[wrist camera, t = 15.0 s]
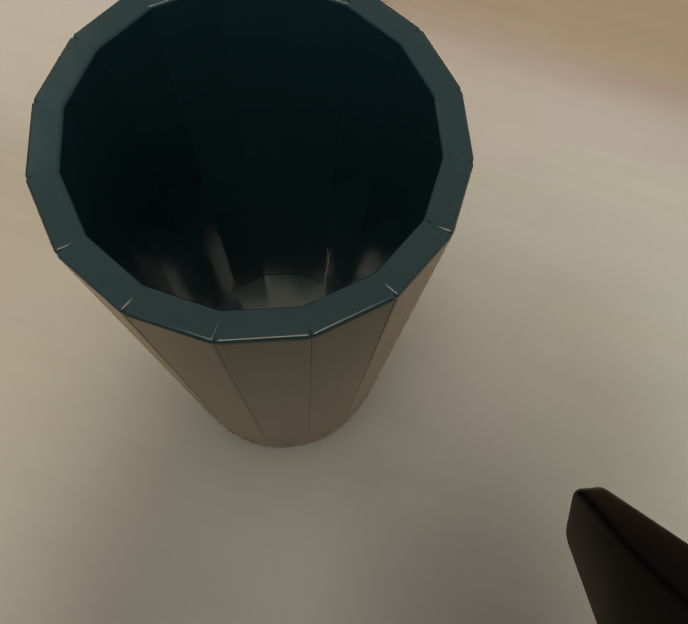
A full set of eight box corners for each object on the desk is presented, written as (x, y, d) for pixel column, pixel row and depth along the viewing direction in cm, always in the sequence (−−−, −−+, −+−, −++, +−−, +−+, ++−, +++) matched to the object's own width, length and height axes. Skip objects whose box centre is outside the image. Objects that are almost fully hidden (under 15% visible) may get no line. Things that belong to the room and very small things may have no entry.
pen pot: (410, 347, 21) (553, 121, 9) (291, 488, 19) (267, 444, 7) (278, 238, 22) (245, -97, 10) (153, 363, 20) (-72, 140, 8)
